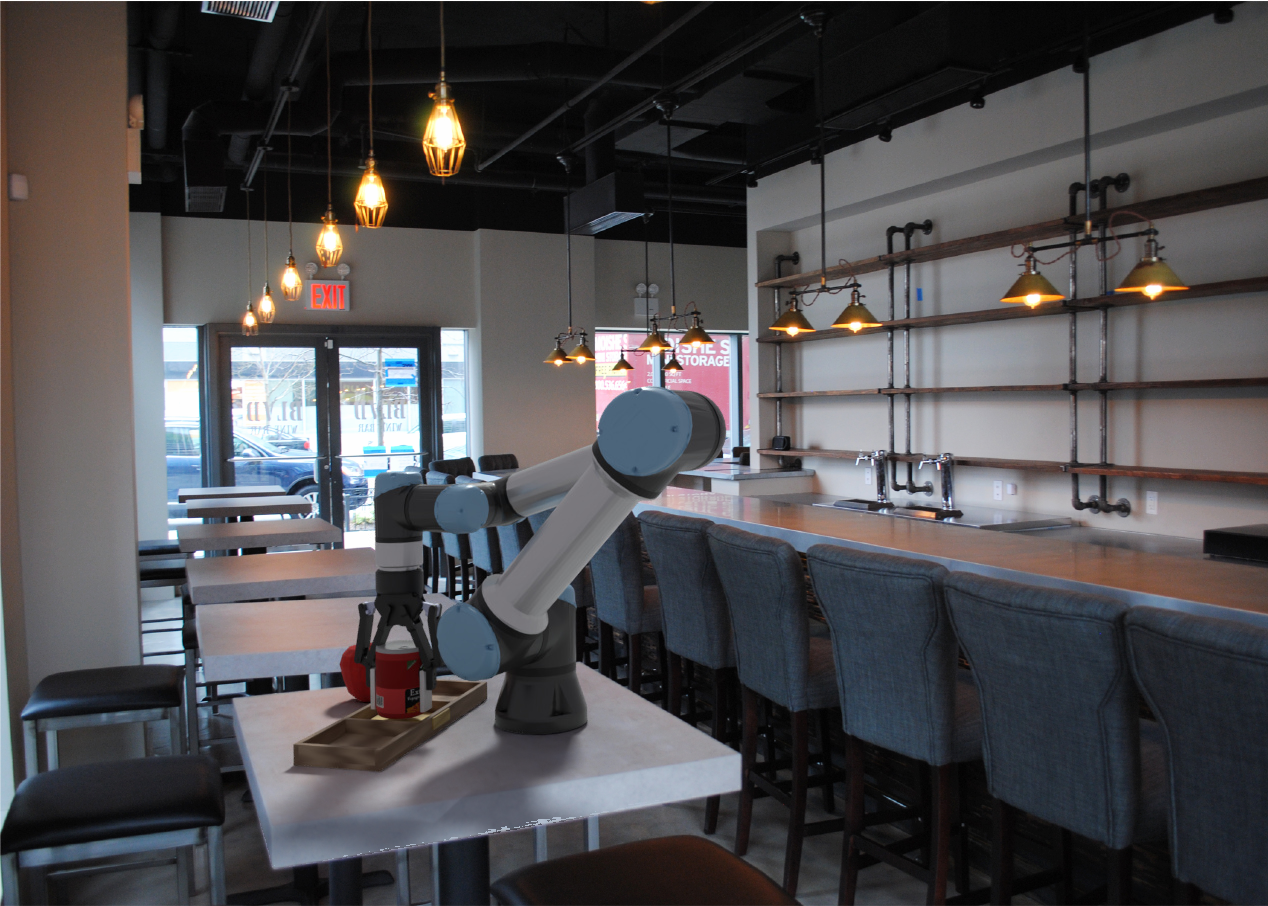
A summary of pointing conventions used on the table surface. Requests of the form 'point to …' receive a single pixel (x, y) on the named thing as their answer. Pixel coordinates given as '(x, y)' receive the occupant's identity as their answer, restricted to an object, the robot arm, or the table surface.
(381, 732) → the caddy
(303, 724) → the table surface
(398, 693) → the canned food
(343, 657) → the apple
